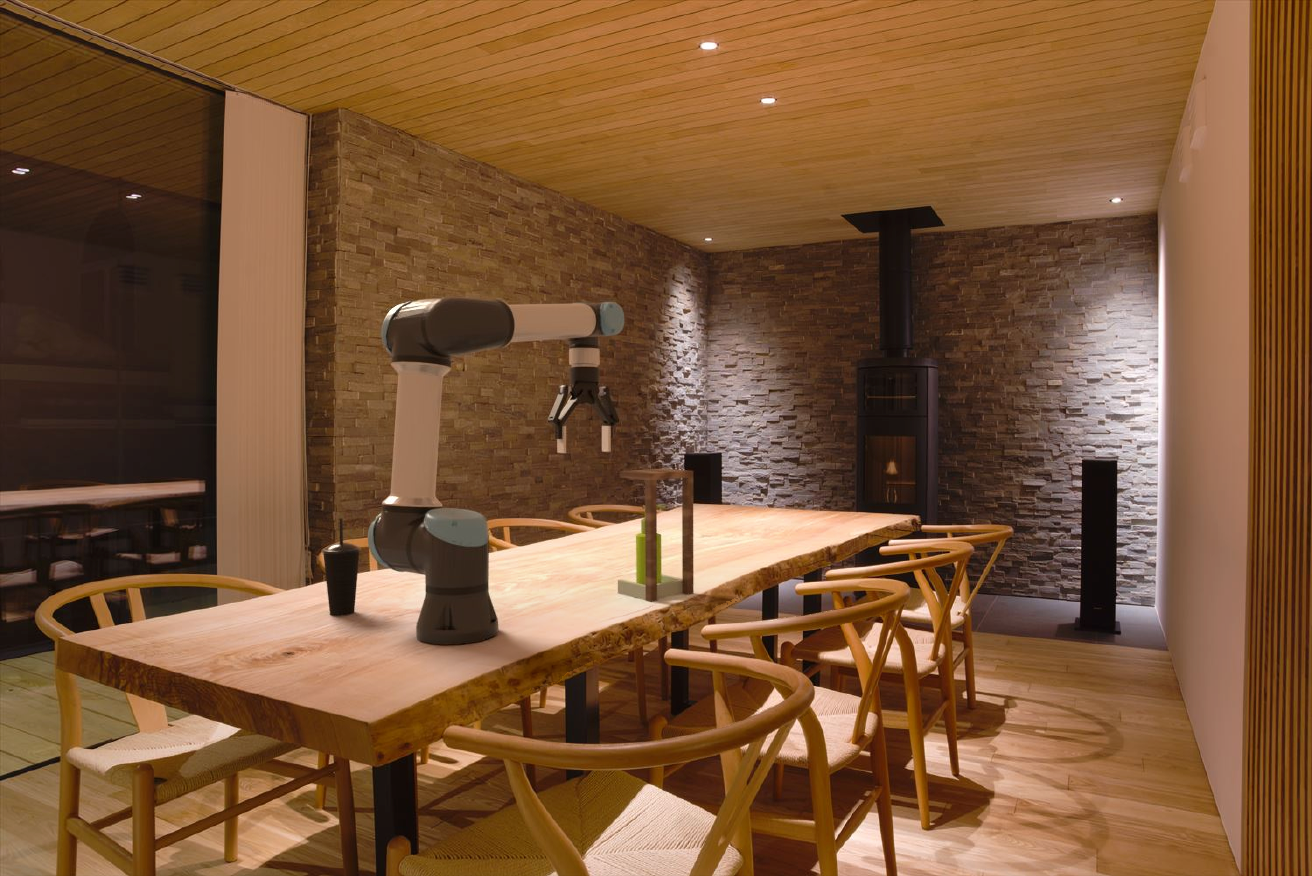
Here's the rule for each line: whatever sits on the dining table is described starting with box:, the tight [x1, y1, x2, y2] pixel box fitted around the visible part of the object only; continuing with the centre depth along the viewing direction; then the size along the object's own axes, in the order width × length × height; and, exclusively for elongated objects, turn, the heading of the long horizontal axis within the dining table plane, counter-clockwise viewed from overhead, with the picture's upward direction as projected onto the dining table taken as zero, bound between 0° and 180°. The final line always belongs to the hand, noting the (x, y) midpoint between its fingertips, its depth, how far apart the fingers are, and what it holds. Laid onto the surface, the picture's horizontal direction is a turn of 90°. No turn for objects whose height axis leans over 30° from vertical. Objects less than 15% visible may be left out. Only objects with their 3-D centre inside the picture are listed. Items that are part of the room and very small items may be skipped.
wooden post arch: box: [619, 468, 694, 603], centre depth 195 cm, size 13×11×28 cm
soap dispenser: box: [635, 504, 666, 585], centre depth 197 cm, size 6×7×20 cm
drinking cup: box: [321, 517, 362, 617], centre depth 177 cm, size 8×8×20 cm
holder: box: [617, 573, 683, 601], centre depth 197 cm, size 12×10×3 cm
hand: (584, 452), depth 209 cm, fingers open, 13 cm apart
